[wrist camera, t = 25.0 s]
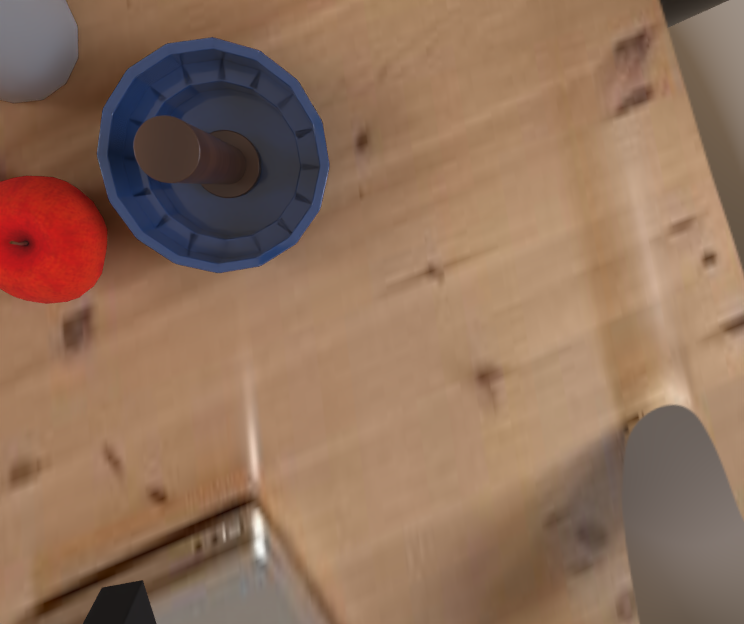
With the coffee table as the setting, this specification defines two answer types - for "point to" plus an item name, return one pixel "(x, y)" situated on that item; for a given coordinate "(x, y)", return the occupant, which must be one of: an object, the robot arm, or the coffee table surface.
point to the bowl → (208, 113)
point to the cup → (35, 48)
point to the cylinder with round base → (197, 156)
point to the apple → (49, 240)
